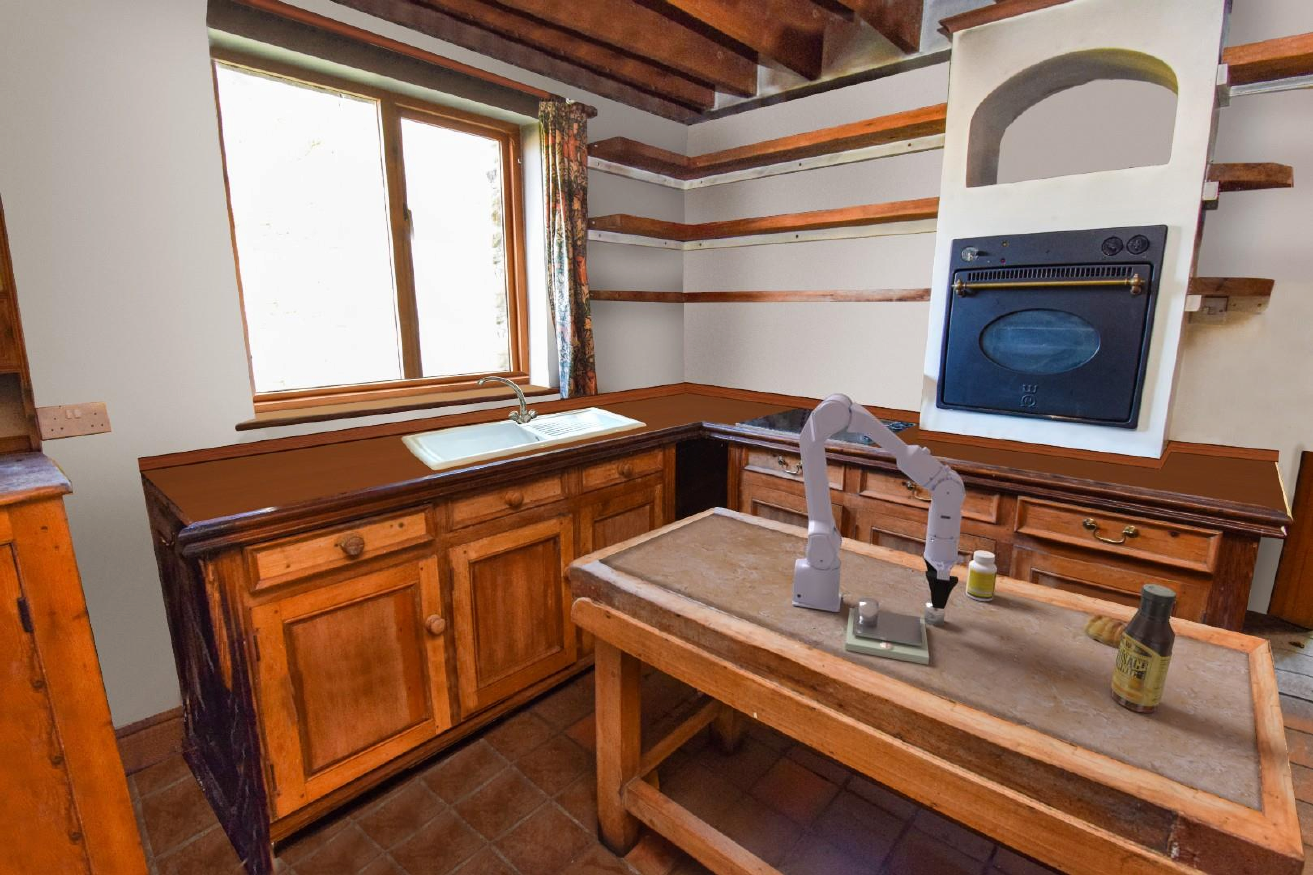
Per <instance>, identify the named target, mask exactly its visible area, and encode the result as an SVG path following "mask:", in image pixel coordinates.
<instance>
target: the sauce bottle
mask: <svg viewBox="0 0 1313 875" xmlns="http://www.w3.org/2000/svg"><path fill="white" fill-rule="evenodd" d="M1140 595H1141V599H1140V603H1139V607H1138V608H1137V611H1136V612H1135V614H1134V616H1133V617H1132V618H1131V620H1130V621H1129V622H1128V623H1127V625H1126V626H1127V627H1126V628H1125V629H1124V630H1123V633H1122V638H1121V643H1120V646H1119V649H1118V652H1117V656H1116V659H1115V664H1114V669H1113V674H1112V678H1111V683H1110V686H1111V687H1110V694H1111V697H1112V698H1113V700H1114V701H1115V702H1116V703H1117V704H1119V705H1120V706H1123V707H1125V708H1126V709H1128V710H1130V711H1132V712H1136V713H1144V714H1148V713H1150V714H1151V713H1153V712H1155V711H1156V710H1157V709H1158V707H1159V704H1161V703H1160V702H1161V700H1162V699H1161V698H1162V695H1163V692H1164V688H1165V683H1166V678H1167V675H1168V670H1169V667H1170V662H1171V659H1172V655H1173V646H1174V643H1175V637H1176V634H1175V632H1174V629H1173V627H1172V626H1171V623H1170V619H1171V612H1172V607H1173V605H1174V604H1175V602H1176V599H1177V593H1176V592H1175V591H1174V590H1173V589H1172V588H1169V587H1166V586H1164V585H1159V584H1154V583H1146V584H1144V585H1142V587H1141V591H1140Z"/></svg>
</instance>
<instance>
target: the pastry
mask: <svg viewBox="0 0 1313 875" xmlns="http://www.w3.org/2000/svg"><path fill="white" fill-rule="evenodd" d="M1126 627H1127V625H1125V624H1124V623H1123V622H1122V621H1120V620H1119V621H1118V620H1115V619H1114V618H1112V617H1105V616H1103V615H1101V614H1099V613H1095V614H1092V615H1091V616H1090V618H1089V619H1088V620H1087V622H1086V623H1085V625H1084V628H1083V631H1084V632H1085V634H1086V635H1087V636H1088V637H1089V638H1091V639H1092V640H1097V641H1099V642H1100V643H1101V644H1104V645H1106V646H1111V647H1112V648H1115V649H1118V650H1119V646H1120V643H1121V638H1122V633H1123V630H1124V629H1125V628H1126Z"/></svg>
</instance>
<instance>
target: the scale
mask: <svg viewBox="0 0 1313 875" xmlns="http://www.w3.org/2000/svg"><path fill="white" fill-rule="evenodd" d="M854 611H855V607H854V608H853V607H849V612H848V619H847V620H848V621H847V628H846V635H845V636H846V637H845V644H844V646H845V647H844V649H845V651H849V652H855V653H856V652H857V653H861V654H867V655H872V656H878V657H883V658H889V659H893V660H900V661H906V662H911V663H915V664H916V663H917V664H922V665H927V666H929V660H930V656H929V647H928V638H927V630H926V623H925V621H924V618H923V619H922V618H920V624H921V634H922V643H923V644H922V646H916V645H910V644H904V643H899V642H893V641H887V640H881V639H875V638H869V637H863V636H858V635H852V631H853V621H854Z"/></svg>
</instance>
